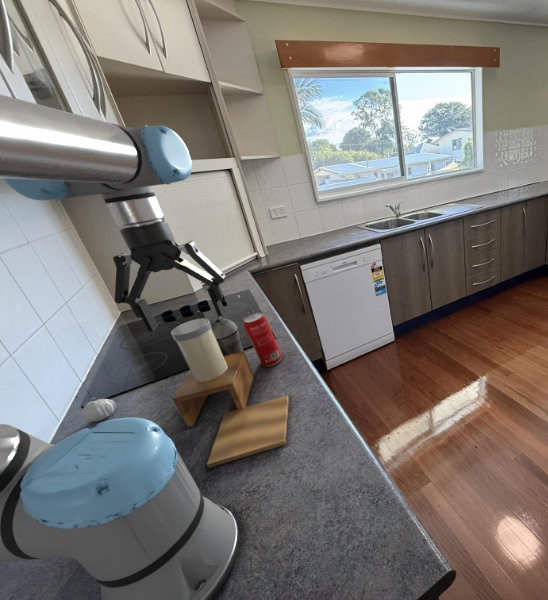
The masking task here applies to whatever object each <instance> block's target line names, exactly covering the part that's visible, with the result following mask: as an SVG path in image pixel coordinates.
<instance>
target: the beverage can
mask: <svg viewBox="0 0 548 600" xmlns="http://www.w3.org/2000/svg"><path fill="white" fill-rule="evenodd" d="M242 320H243V327H244V329H245V331H246V334H247V336H248V338H249V340H250V343H251V344H252V347H253V349H254V352H255V353H256V356H257V358H258V360H259V362H260V364H261V365H262V366H263V367H267V368H269V367H272V366H273V367H274V366H275V365H277V364H278V363H280V361H281V360H282V357H283V355H282V352H281V351H280V348H279V346H278V344H277V341H276V339H275V335H274V334H273V331H272V329H271V327H270V324H269V322H268V320H267V317H266V316H265V315H264V314H263V312H260V311H259V312H252V313H251V314H248V315H247V316H245V317H243V319H242Z"/></svg>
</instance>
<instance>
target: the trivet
mask: <svg viewBox="0 0 548 600" xmlns="http://www.w3.org/2000/svg"><path fill="white" fill-rule="evenodd" d="M289 403H290V398H289V395H284V396H281V397H278V398H273V399H271V400H266V401H264V402H259V403H256V404H253V405H249V406H246V407H245V408H241V409H235V410H231V411H227V412H224V413H223V417H222V419H221V422H220V425H219V428H218V431H217V434H216V437H215V439H214V441H213V445H212V449H211V451H210V453H209V456H208V459H207V462H206V466H207V468H208V469H211V468H213V467H216V466H220V465H223V464H226V463H230V462H233V461H236V460H240V459H242V458H243V459H244V458H246V457H250V456H253V455H255V454H259V453H262V452H266V451H269V450H272V449H275V448H278V447H281V446H284V445H286V443H287V442H286V441H287V431H288V430H287V428H288V418H289V405H290V404H289Z"/></svg>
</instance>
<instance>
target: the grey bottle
mask: <svg viewBox="0 0 548 600" xmlns="http://www.w3.org/2000/svg"><path fill="white" fill-rule="evenodd" d="M210 324H211V329H212V331H213V333H214V336H215V338H216V340H217V342H218V345H219V347H220V349H221V352H222V354H223V356H226V355H230V354H234V353H238V352H242V351H244V349H243V346H242V342H241V338H240V333H239V332H240V331H239V327H237V324H236V323H235V322H234V321H232V320H231V319H228V318H222V316H220V317H218V318H217V319H216V320H214V321H213V322H212V323H210Z"/></svg>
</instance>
